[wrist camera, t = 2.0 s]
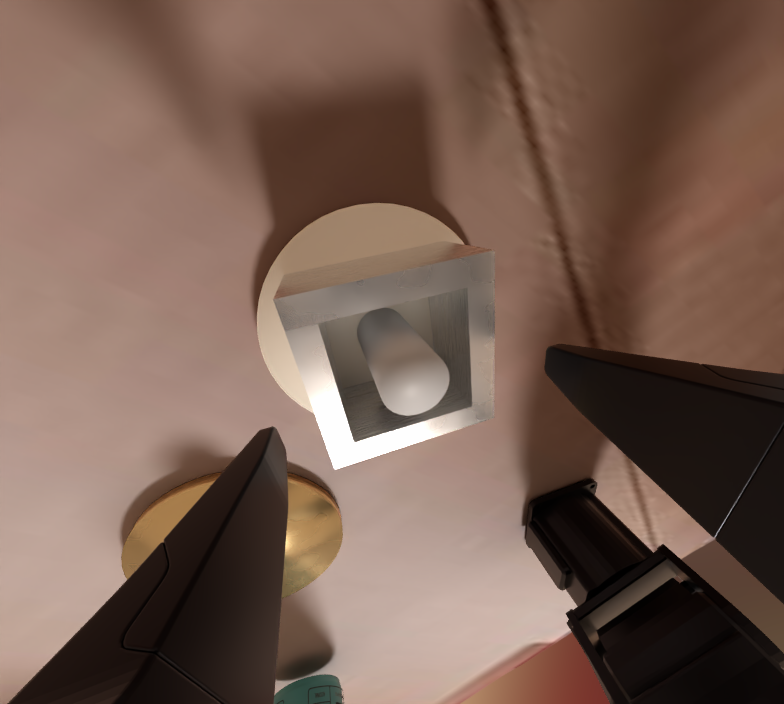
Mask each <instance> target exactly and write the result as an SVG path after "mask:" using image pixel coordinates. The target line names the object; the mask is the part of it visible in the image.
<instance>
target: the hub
mask: <svg viewBox="0 0 784 704" xmlns="http://www.w3.org/2000/svg"><path fill="white" fill-rule="evenodd" d="M221 474H222V472H220V473H215V474H211V475H207V476H204V477H201V478H198V479H195V480H192V481H189V482H187V483H185V484H183V485H180V486H178V487H176V488H174V489H172V490H171V491H169V492H168V493H166V494H164V495H163V496H161V497H160V498H159V499H157V500H156V501H155V502H154V503H152V504H151V505H150V506H149V507H148V508H147V509H146V510H145V511H144V512H143V513H142V515H141V516H140V518H139V519H138V521H137V522H136V524H135V525H134V527H133V529H132V531H131V532H130V534H129V536H128V538H127V540H126V542H125V545H124V547H123V552H122V557H121V558H122V568H123V571H124V574H125V576H126V578H127V580H128V578H129V577H130V576H131V575H132V574H133V573H134V572H135V571H136V570H137V569H138V567H139V566H140V565H141V564H142V563H143V562H144V561H145V560H146V559H147V557H148V556H149V555H150V554H151V553H152V552H153V551H154V550H155V548H156V547H157V546H158V545H159V544H160V543H161V542H164V538H165V537H166V536H167V535H168V534H169V533H170V531H171V530H172V529H173V528H174V527H175V526H176V525H177V524H178V522H179V521H180V520H181V519H182V518H183V517H184V516H185V514H186V513H187V512H188V511H189V510H190V509H191V508H192V507H193V505H194V504H195V503H196V502H197V501H198V500H199V499H200V497H201V496H202V495H203V494H204V493H205V492H206V491H207V489H208V488H209V487H210V486H211V485H212V484H213V483H214V482H215V480H216V479H217V478H218V477H219V476H220V475H221ZM287 478H288V519H287V533H286V546H285V559H284V573H283V586H282V598H284V597H287V596H289V595H291V594H293V593H295V592H297V591H299V590H300V589H302V588H303V587H305V586H307V585H308V584H310V583H311V582H312V581H314V580H315V579H316V578H318V577H319V576H320V575H321V574H322V573H323V572H324V571H325V570H326V569H327V568H328V567H329V566H330V564H331V563H332V562H333V560H334V559H335V557H336V555H337V553H338V551H339V549H340V546H341V543H342V536H343V533H342V521H341V514H340V511H339V508H338V506H337V504H336V502H335V500H334V499H333V498H332V497H331V495H330V494H329V493H328V492H326V491H325V490H324V489H323V488H322V487H320V486H319V485H317V484H316V483H314V482H312V481H310V480H308V479H306V478H303V477H300V476H297V475H294V474H291V473H287Z"/></svg>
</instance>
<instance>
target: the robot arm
mask: <svg viewBox="0 0 784 704" xmlns="http://www.w3.org/2000/svg"><path fill="white" fill-rule="evenodd" d="M545 372H546V374H547V376H548V377H549V378H550V379H551V380H552V381H553V383H554V384H555V385H556V386H557V387H558V388H559V389H560V390H561V392H562V393H563V394H564V395H565V396H566V397H567V398H568V400H569V401H570V402H571V403H572V404H573V405H574V406H575V407H576V408H577V409H578V410H579V411H580V412H581V413H582V414H583V415H584V416H585V417H586V418H587V419H588V420H589V421H590V422H591V423H592V424H593V425H594V426H596V427H597V428H598V429H599V430H600V431H601V432H602V433H603V434H604V435H605V436H606V437H607V438H608V439H609V440H610V441H611V442H613V443H614V444H615V445H616V446H617V447H618V448H619V449H620V450H621V451H622V452H623V453H624V454H625V455H626V456H627V457H628V458H629V459H631V460H632V461H633V462H634V463H635V464H636V465H637V466H638V467H639V468H640V469H641V470H642V471H643V472H644V473H645V474H646V475H648V476H649V477H650V478H651V479H652V480H653V481H654V482H655V483H656V484H657V485H658V486H659V487H660V488H661V489H662V490H663V491H665V492H666V493H667V494H668V495H669V496H670V497H671V498H672V499H673V500H674V501H675V502H676V503H677V504H678V505H679V506H680V507H682V508H683V509H684V510H685V511H686V512H687V513H688V514H689V515H690V516H691V517H692V518H693V519H694V520H695V521H696V522H697V523H699V524H700V525H701V526H702V527H703V528H704V529H705V530H706V531H707V532H708V533H709V534H710V535H711V536H712V537H714V538H715V539H716V541H717V542H718V543H719V544H720V545H722V546H723V547H724V548H725V549H726V550H727V551H728V552H729V553H730V554H731V555H732V556H733V557H734V558H735V559H736V560H737V561H738V562H740V563H741V564H742V565H743V566H744V567H745V568H746V569H747V570H748V571H749V572H750V573H751V574H752V575H753V576H754V577H756V578H757V579H758V580H759V581H760V582H761V583H762V584H763V585H764V586H765V587H766V588H767V589H768V590H769V591H770V592H771V593H772V594H774V595H775V596H776V597H777V598H778V599H779V600H780V601H781V602H782V603H783V604H784V374H777V373H768V372H760V371H751V370H744V369H736V368H729V367H721V366H714V365H707V364H701V365H700V364H699V363H692V362H685V361H678V360H671V359H664V358H657V357H650V356H643V355H636V354H629V353H622V352H615V351H608V350H601V349H594V348H587V347H580V346H572V345H565V344H557V345H553V346H550V347H548V348H547V350H546V357H545ZM596 488H597V482H596V481H594V480H593V479H588V480H586V481H583V482H580V483H578V484H575V485H572V486H570V487H567V488H565V489H562V490H559V491H557V492H554V493H551V494H549V495H546V496H543V497H541V498H538V499H536V500H533V501H532V502H531V503H530V504H529V512H528V523H527V533H526V544H527V546H528V547H529V548H531V549H532V550H533V552H534V553H535V555H536V556H537V558H538V559H539V561H540V562H541V564H542V565H543V567H544V568H545V570H546V571H547V573H548V574H549V576H550V577H551V579H552V580H553V582H554V583H555V585H556V586H557V588H558V589H560V590H562V591H563V590H565V589H566V590H567V592H568V593H569V595H570V596H571V598H572V599H573V600H574V602H575V603H576V605H577V606H578V607H577V608H575V609H574V610H572V609H571V610H570V611H568V612H567V613H566V615H567V617H568V618H569V620H568V622H567V625H568V626H569V628H570V629H571V631H572V633H573V634H574V636H575V637H576V639H577V640H578V642H579V644H580V645H581V647H582V649H583V650H584V652H585V654H586V656H587V658H588V660H589V662H590V664H591V666H592V668H593V670H594V672H595V674H596V676H597V678H598V680H599V682H600V684H601V686H602V688H603V690H604V692H605V694H606V696H607V698H608V700H609V702H610V704H784V654H783V652H782V651H781V650H780V649H779V648H778V647H777V646H776V645H775V644H774V643H773V642H772V641H771V640H770V639H769V638H768V637H767V636H765V634H764V633H763V632H762V631H760V630H759V629H758V628H757V627H756V626H755V625H754V624H753V623H752V622H751V621H750V620H749V619H748V618H747V617H746V616H744V615H743V614H742V613H741V612H740V611H739V610H738V609H737V608H736V607H735V606H733V605H732V604H731V603H730V602H729V601H728V600H726V599H725V598H724V597H723V596H722V595H721V594H720V593H719V592H717V591H716V590H715V589H714V588H713V587H712V586H710V585H709V584H708V583H707V582H706V581H705V580H704V579H702V578H701V577H700V576H699V575H698V574H697V573H696V572H695V571H693V570H692V569H691V568H690V567H689V566H687V565H686V564H685V563H684V562H683V561H682V560H681V559H680V558H679V557H677V556H676V555H675V554H674V553H673V552H672V551H671V550H669V549H668V548H667V547H666V546H665V545H664V544H662V545H661V546H659V547H658V548H657V551H655V552H654V553H653V552H652V551H651V550H650V549H649V548H648V547H647V546H646V545H645V544H644V543H643V542H642V541H641V540H640V539H639V538H638V537H637V536H636V535H635V534H634V533H633V532H632V531H631V530H630V529H629V528H628V527H627V526H626V525H625V524H624V523H623V522H621V521H620V520H619V519H618V518H617V517H616V516H615V515H614V514H613V513H612V512H611V511H610V510H609V509H608V508H607V507H606V506H605V505H604V504H603V503H602V502H601V501H600V500H599V499H598V498H597V497H596V496H595V492H596ZM287 519H288V478H287V456H286V449H285V446H284V444H283V442H282V440H281V438H280V435H279V433H278V431H277V429H276V428H275V427H269V428H266V429H262V430H260V431H259V432H258V433H257V434H256V435H255V436H254V437H253V438H252V440H251V441H250V442H249V443H248V444H247V445H246V446H245V447H244V449H243V450H242V451H241V452H240V453H239V454H238V455H237V457H236V458H235V459H234V460H233V461H232V462H231V463H230V464H229V466H228V467H227V468H226V469H225V470H224V471H223V472H222V474H221V475H220V476H219V477H218V478H217V479H216V480H215V482H214V483H213V484H212V485H211V486H210V487H209V488H208V489H207V491H206V492H205V493H204V494H203V495H202V496H201V497H200V499H199V500H198V501H197V502H196V503H195V504H194V505H193V507H192V508H191V509H190V510H189V511H188V512H187V513H186V514H185V516H184V517H183V518H182V519H181V520H180V521H179V522H178V524H177V525H176V526H175V527H174V528H173V529H172V530H171V531H170V533H169V534H168V535H167V536H166V537H165V538H164V542H161V543H160V544H159V545H158V546H157V547H156V548H155V550H154V551H153V552H152V553H151V554H150V555H149V556H148V557H147V559H146V560H145V561H144V562H143V563H142V564H141V565H140V566H139V567H138V569H137V570H136V571H135V572H134V573H133V574H132V575H131V576H130V577H129V578H128V580H127V581H126V582H125V583H124V584H123V585H122V586H121V587H120V588H119V589H118V590H117V591H116V593H115V594H114V595H113V596H112V597H111V598H110V599H109V600H108V601H107V602H106V603H105V604H104V605H103V606H102V607H101V608H100V609H99V610H98V611H97V612H96V613H95V615H94V616H93V617H92V618H91V619H90V620H89V621H88V622H87V623H86V624H85V625H84V626H83V627H82V628H81V629H80V630H79V631H78V632H77V633H76V634H75V635H74V636H73V637H72V638H71V639H70V640H69V641H68V642H67V643H66V644H65V645H64V646H63V647H62V648H61V649H60V650H59V651H58V653H57V654H56V655H55V656H54V657H53V658H52V659H51V660H50V661H49V662H48V663H47V664H46V665H45V666H44V667H43V668H42V669H41V670H40V671H39V672H38V673H37V674H36V675H35V676H34V677H33V678H32V679H31V680H30V681H29V682H28V683H27V684H26V685H25V686H24V687H23V688H22V689H21V690H20V691H19V692H18V694H17V695H16V696H15V697H14V698H13V699H12V700H11V701H10V702H9V703H8V704H274V693H275V679H276V666H277V653H278V639H279V626H280V613H281V599H282V586H283V573H284V559H285V546H286V533H287ZM676 576H678V577H679V578H680V579H681V580H682V582H681V583H679V582H678V581H676V580H675V579H674V578H675V577H676Z"/></svg>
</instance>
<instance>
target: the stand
mask: <svg viewBox="0 0 784 704" xmlns="http://www.w3.org/2000/svg"><path fill="white" fill-rule="evenodd" d="M441 241H447V242H453V243H458V244H464V243H463V241H462V240H461V239H460V238H459V237H458V236H457V235H456V234H455V233H454V232H453V231H452V230H451V229H450V228H448V227H447V226H446V225H444V224H443V223H442V222H441V221H439V220H437V219H436V218H434V217H432V216H430V215H428V214H426V213H424V212H422V211H419V210H416V209H413V208H411V207H407V206H402V205H397V204H389V203H369V204H360V205H354V206H350V207H347V208H343V209H339V210H336V211H334V212H331V213H329V214H327V215H324V216H322V217H320V218H319V219H317V220H315V221H314V222H312V223H311V224H309V225H307V226H306V227H305V228H304V229H302V230H301V231H300V232H299V233H298V234H297V235H295V236H294V237H293V238H292V239H291V240H290V242H289V243H288V244H287V245H286V246H285V247H284V248H283V250H282V251H281V252H280V254H279V255H278V257H277V258H276V260H275V261H274V263H273V264H272V266H271V268H270V270H269V272H268V274H267V276H266V279H265V281H264V283H263V287H262V290H261V294H260V297H259V302H258V310H257V333H258V339H259V345H260V349H261V352H262V355H263V358H264V361H265V363H266V365H267V367H268V369H269V371H270V373H271V375H272V376H273V378H274V379H275V380H276V382H277V383H278V385H279V386H280V387H281V388H282V389H283V390H284V391H285V393H286V394H287V395H288V396H289V397H290V398H292V399H293V400H294V401H295V402H297V403H298V404H299V405H300V406H302V407H304V408H305V409H307V410H309V411H310V412H312V413H314V411H313V408H312V405H311V403H310V400H309V397H308V394H307V392H306V389H305V386H304V383H303V381H302V378H301V375H300V372H299V370H298V367H297V364H296V361H295V359H294V356H293V353H292V350H291V348H290V345H289V342H288V339H287V337H286V334H285V331H284V328H283V326H282V323H281V320H280V317H279V315H278V312H277V309H276V306H275V303H274V301H273V298H274V296H275V294H276V292H277V289H278V287H279V285H280V282H281V280H282V278H283V276H284V274H289V273H294V272H298V271H303V270H308V269H313V268H318V267H322V266H327V265H332V264H337V263H341V262H346V261H351V260H356V259H360V258H365V257H370V256H375V255H379V254H384V253H389V252H394V251H398V250H403V249H408V248H413V247H417V246H422V245H427V244H432V243H436V242H441ZM464 245H465V244H464ZM324 324H325V328H326V331H327V334H328V338H329V341H330V345H331V348H332V352H333V355H334V359H335V362H336V366H337V369H338V372H339V376H340V379H341V383H342V386H343V388H347V387H351V386H354V385H358V384H361V383H365V382H369V381H372V380H374V381H375V384H376V387H377V389H378V392H379V394H380V397H381V399H382V401H383V403H384V405H385V406H386V407H387V408H388V409H389V410H391V411H392V412H394V413H397V414H400V415H407V416H408V415H417V414H420V413H423V412H425V411H428V410H429V409H431V408H432V407H434V406H435V405H436V404H437V403H438V402H439V401H440V400H441V399H442V398H443V396H444V395H445V393H446V391H447V388H448V385H449V371H448V368H447V366H446V364H445V363H444V361H443V360H442V359H441V358H440V357H439V356H438V355H437V354H436V353H435V352H434V347H433V337H432V328H431V319H430V309H429V300H428V297H426V298H422V299H417V300H413V301H409V302H405V303H401V304H397V305H393V306H388V307H384V308H380V309H376V310H372V311H368V312H363V313H359V314H355V315H351V316H347V317H343V318H338V319H334V320H330V321H326V322H324Z"/></svg>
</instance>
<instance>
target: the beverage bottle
mask: <svg viewBox="0 0 784 704" xmlns="http://www.w3.org/2000/svg"><path fill="white" fill-rule="evenodd" d="M341 690H342V689H341V685H340V682H339V679H338V678H337V677H335V676H333V675H316V676H311V677H307V678H304V679H301V680H298V681H296V682H293V683H291V684H289V685H287V686H286V687H284V688H283V689H281V690H280V691H279V692H277V693H276V694H275V696H274V704H342V698H343V696H342V692H341ZM342 691H343V690H342ZM343 700H344V698H343ZM343 704H344V702H343Z"/></svg>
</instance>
